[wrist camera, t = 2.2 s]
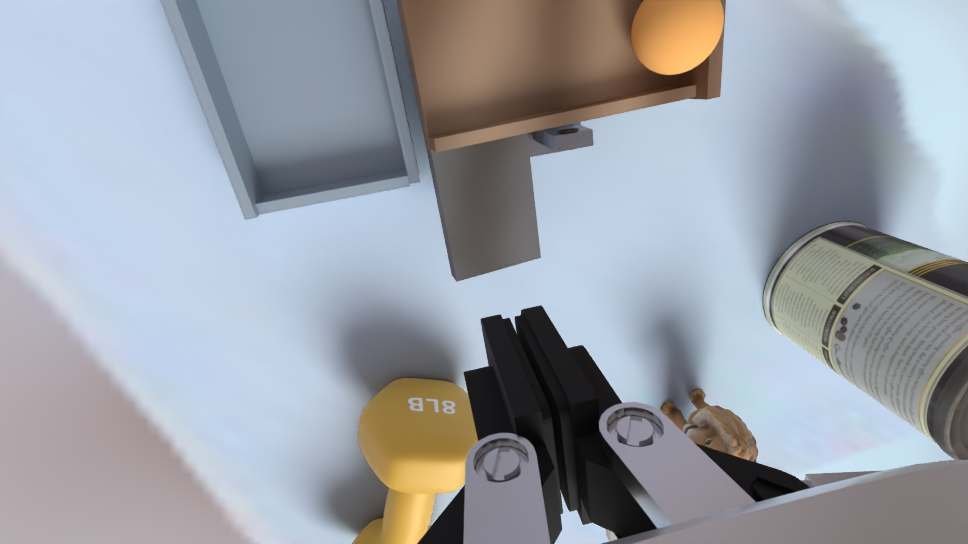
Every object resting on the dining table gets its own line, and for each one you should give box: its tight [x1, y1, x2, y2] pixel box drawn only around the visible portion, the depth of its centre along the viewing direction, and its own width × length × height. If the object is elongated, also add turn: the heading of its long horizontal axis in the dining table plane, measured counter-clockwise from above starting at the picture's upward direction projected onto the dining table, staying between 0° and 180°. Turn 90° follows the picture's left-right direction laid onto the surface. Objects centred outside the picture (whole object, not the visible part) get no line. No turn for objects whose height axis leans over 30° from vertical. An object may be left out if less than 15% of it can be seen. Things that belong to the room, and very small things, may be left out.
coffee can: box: [763, 222, 968, 460], centre depth 31 cm, size 10×10×14 cm
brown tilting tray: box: [397, 0, 726, 281], centre depth 24 cm, size 15×14×4 cm
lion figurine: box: [661, 390, 758, 462], centre depth 37 cm, size 15×5×9 cm, turn 17°
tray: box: [160, 0, 420, 220], centre depth 25 cm, size 10×12×3 cm
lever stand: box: [527, 122, 593, 157], centre depth 25 cm, size 4×12×6 cm, turn 9°
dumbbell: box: [352, 378, 478, 544], centre depth 35 cm, size 19×9×8 cm, turn 167°
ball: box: [631, 0, 724, 75], centre depth 22 cm, size 4×4×4 cm
